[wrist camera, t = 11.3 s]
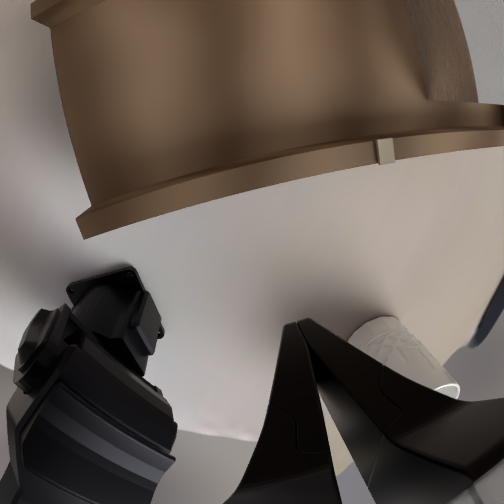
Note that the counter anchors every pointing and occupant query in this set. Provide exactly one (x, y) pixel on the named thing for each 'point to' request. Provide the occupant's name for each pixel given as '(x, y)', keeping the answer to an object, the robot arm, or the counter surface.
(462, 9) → the steel block
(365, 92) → the wooden tray
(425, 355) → the white cup
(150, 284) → the counter surface
